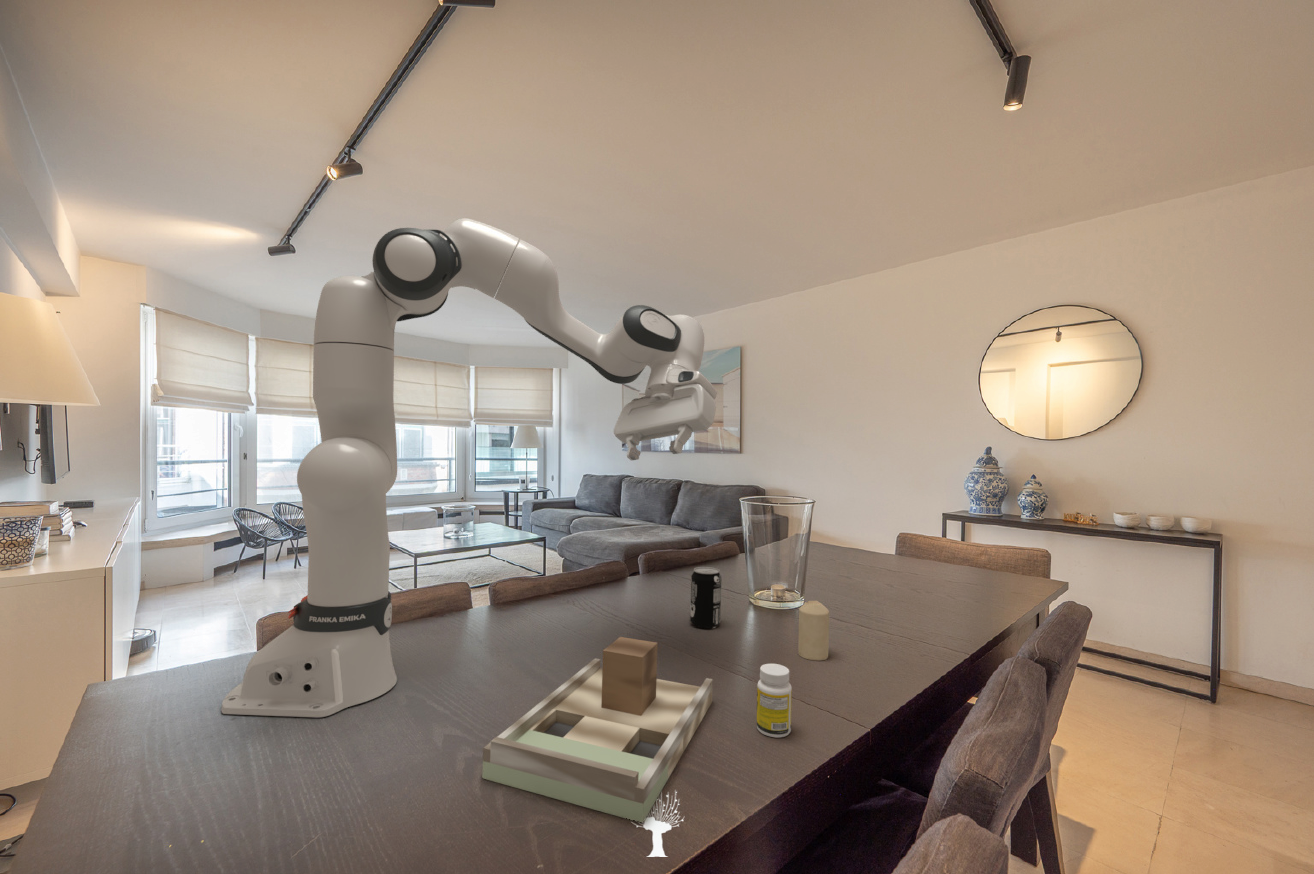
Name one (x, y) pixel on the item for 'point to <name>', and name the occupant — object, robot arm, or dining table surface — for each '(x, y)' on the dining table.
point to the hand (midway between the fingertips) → (653, 455)
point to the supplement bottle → (774, 701)
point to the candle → (813, 631)
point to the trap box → (605, 734)
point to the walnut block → (629, 675)
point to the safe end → (576, 793)
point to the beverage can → (705, 597)
